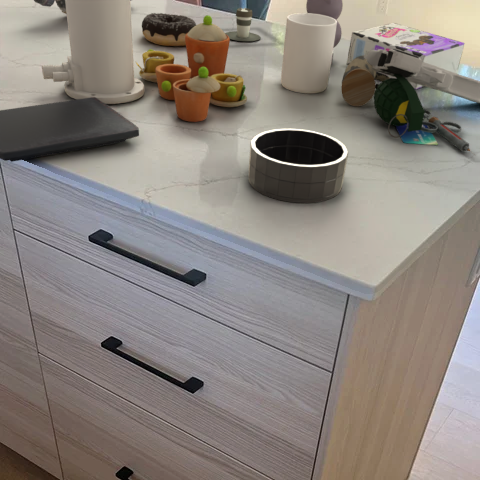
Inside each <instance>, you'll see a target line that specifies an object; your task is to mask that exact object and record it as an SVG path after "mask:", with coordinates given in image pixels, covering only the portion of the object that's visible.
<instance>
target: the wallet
mask: <svg viewBox="0 0 480 480" xmlns="http://www.w3.org/2000/svg"><path fill="white" fill-rule="evenodd" d="M139 136H140V130H139V127H138V126H137V125H136V124H134V123H133V122H132V121H131V120H129V119H128V118H126V117H125V116H123V115H122V114H121V113H119V112H118V111H116V110H115V109H114V108H112V107H110V106H109V104H105V103H103V102H101V101H100V100H98V99H97V98H96V97H91V98H84V99H77V100H76V99H71V100H63V101H57V102H50V103H42V104H35V105H29V106H20V107H15V108H7V109H0V160H2V161H4V162H6V161H10V163H13V162H17V161H24V160H29V159H35V158H40V157H46V156H52V155H57V154H63V153H70V152H75V151H80V150H85V149H92V148H96V147H103V146H108V145H109V146H110V145H115V144H120V143H124V142H126V141H127V140H131V139H134V138H136V137H139Z"/></svg>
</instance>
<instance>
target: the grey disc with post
mask: <svg viewBox="0 0 480 480" xmlns="http://www.w3.org/2000/svg"><path fill="white" fill-rule="evenodd" d="M235 17H236V19H235V20H236V30H234V31H227V32H224V33H225V34H226V35H227V36H228V37H229V39H230V41H235V42H243V43H244V42H245V43H250V42H256V41H259V40H261V38H262V37H261V36H260V35H259V34H257V33H254V32H250V29H251V25H252V20H253V19H252V17H253V10H252V9H250V8H248V7H247V8H246V7H244V8H242V7H239V8H237V9H236V12H235Z"/></svg>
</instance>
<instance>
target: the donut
mask: <svg viewBox="0 0 480 480" xmlns="http://www.w3.org/2000/svg"><path fill="white" fill-rule="evenodd" d="M196 25H197V22H196V21H195V20H193V18H190V17H189V16H186V15H180V14H179V15H178V14H173V13H172V14H171V13H162V12H160V13H159V12H157V13H156V12H153V13H152V12H151V13H148V14H146V16H145V17H143V19H142V21H141V29H142V35H143V37H144V38H145V39H146V41H149V42H151V43H153V44H155V45H160V46H165V47H184V46H185V47H186V43H185V36H186V34H187V33H188V32H189V31H190V30H191V29H192V28H193V27H194V26H196Z"/></svg>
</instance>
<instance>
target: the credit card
mask: <svg viewBox="0 0 480 480" xmlns="http://www.w3.org/2000/svg"><path fill="white" fill-rule="evenodd" d="M408 126H409V123H408ZM422 127H424V128H428V129H430V127H429V126H427V125H422ZM406 128H407V124H405V125H403V126H395V129H396V130H397V133H398V136H400V135H402V134H403V133H404V132H405V130H406ZM399 138H400V139H401V141H402V143H404V144H412V145H428V146H429V145H431V146H438V145H439V143H438V142H437V139H436V138H435V136H434V134H433V133H429V132H424V131H421V130H417V131H410V132H408V128H407V130H406V132H405V133H404V134H403V135H402V136H400V137H399Z"/></svg>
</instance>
